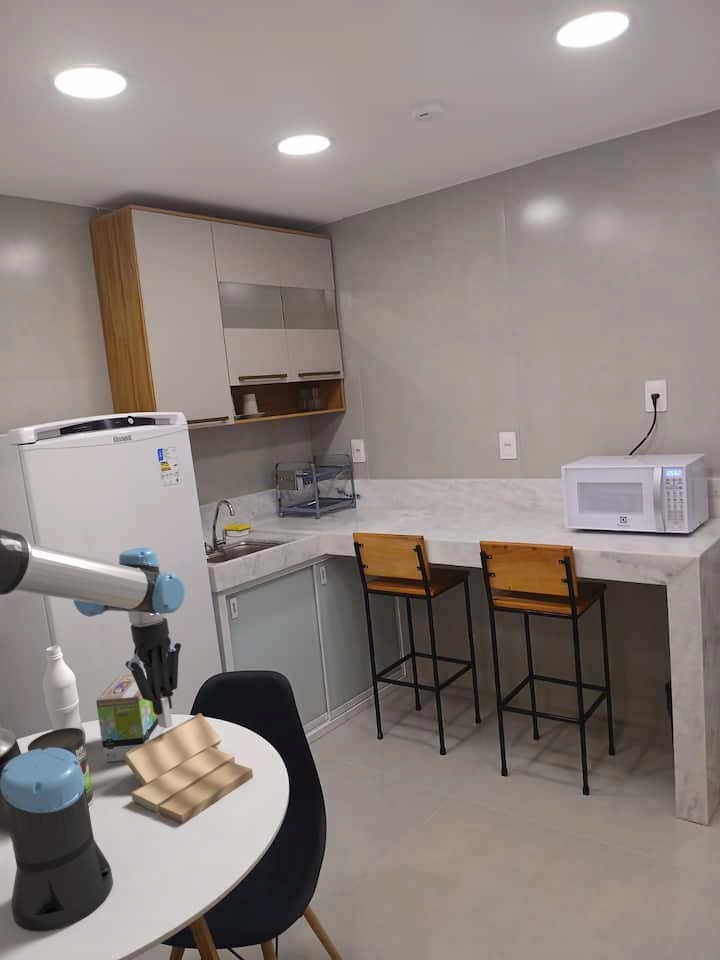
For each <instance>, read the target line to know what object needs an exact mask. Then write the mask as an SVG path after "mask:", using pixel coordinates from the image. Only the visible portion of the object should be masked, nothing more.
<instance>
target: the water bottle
mask: <svg viewBox="0 0 720 960" xmlns="http://www.w3.org/2000/svg"><path fill="white" fill-rule="evenodd" d="M45 651H46V661H47V667H46V670H45V672H44V675H43V679H42V683H41V684H42V689H43V693H44V699H45V704H46V705H45V706H46V710H47V713H48V715H49V718H50V722H51V727H52V729H51V730H52V731H55V730H59V729H64V728H78V729H81V730H82V731H83V735H84V737H83V738H84V744H86V741H87V740H86V739H87V737H86V731H85V729H84V727H83V724H82V721H81V716H80V708H79V706H80V705H79V703H80V699H79V694H78V693H79V692H78V689H77V683H76V680H77V678H76V675H75V674H74V672H73V671H72V669H71V668H70V667H69V666H68V665H67V663H65V660H64V659H63V657H64V654H63V653H62V649H61V646H60V645H52V646H50V647H47V648H46V649H45Z"/></svg>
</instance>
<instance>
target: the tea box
mask: <svg viewBox="0 0 720 960" xmlns="http://www.w3.org/2000/svg"><path fill="white" fill-rule="evenodd" d="M144 674H145V676H146V672H144ZM146 679H147V677H146ZM95 701H96V708H97V715H98V717H97V718H98V722H99V723H98V724H99V731H100V738H101V743H102V752H103V757H104V763H105V762H106V763H107V762H108V763H109V762H121V761H122V762H123V761H124V762H125V760H124V759H123V758H124V755H125V753H127V752H129V751H131V750H133V749H135V748H136V747H138V746H140V745H142V744H144V743H146V742H147V741H149V740H151V739H153V738H155V737H157V736H159V735H160V734H162V733H164V732H165V729H166V728H163V727H160V726H159V723H158V717H157V714H155V713H154V711H153V705H152V701H148V700H145V699H143V698H142V696H141V693H140V691H139V688H138V686H137V684H136V681H135V679H134V677H133V674H132V673H128V674H120V675H118V676H117V677H116V678H115V679H114V680H113V682H111V683H110V685H109V686H108V687H107V688H106V689H105V690H104V692H102V694H101V695H100V696H98V698H97V699H96V700H95Z"/></svg>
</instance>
